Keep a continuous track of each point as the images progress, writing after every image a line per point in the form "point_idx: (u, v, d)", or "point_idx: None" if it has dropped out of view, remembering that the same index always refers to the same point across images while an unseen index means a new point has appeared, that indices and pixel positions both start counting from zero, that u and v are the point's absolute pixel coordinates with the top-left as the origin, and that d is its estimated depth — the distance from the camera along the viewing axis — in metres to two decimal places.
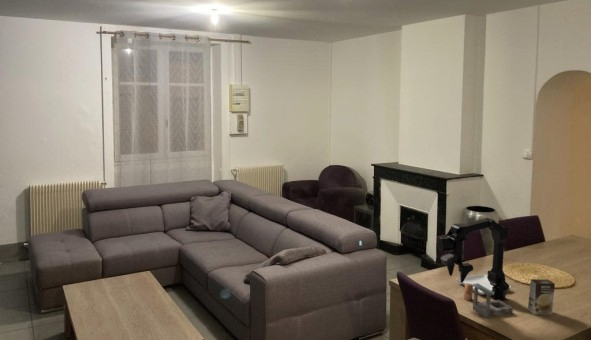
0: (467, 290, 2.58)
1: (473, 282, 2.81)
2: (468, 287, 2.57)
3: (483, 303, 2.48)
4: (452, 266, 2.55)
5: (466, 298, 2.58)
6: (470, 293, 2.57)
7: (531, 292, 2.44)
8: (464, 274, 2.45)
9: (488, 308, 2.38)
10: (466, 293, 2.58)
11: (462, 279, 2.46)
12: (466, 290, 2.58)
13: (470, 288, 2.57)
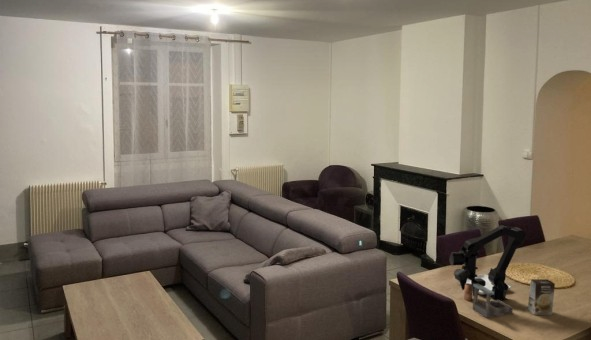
0: (467, 290, 2.57)
1: None
2: (468, 287, 2.57)
3: (483, 303, 2.48)
4: (464, 280, 2.63)
5: (466, 298, 2.58)
6: (470, 293, 2.57)
7: (531, 292, 2.44)
8: None
9: (488, 308, 2.38)
10: (466, 293, 2.58)
11: None
12: (466, 290, 2.58)
13: (470, 288, 2.57)
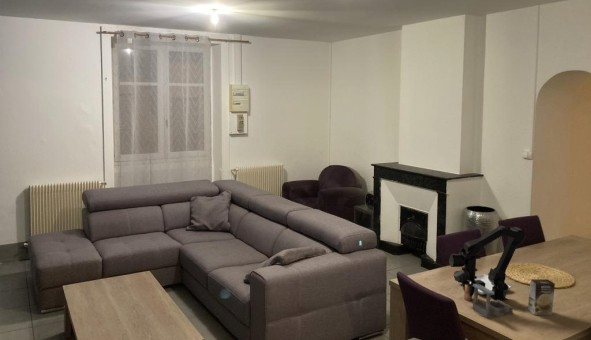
0: (467, 290, 2.58)
1: None
2: (468, 287, 2.57)
3: (483, 303, 2.48)
4: None
5: (466, 298, 2.58)
6: None
7: (531, 292, 2.44)
8: (473, 289, 2.56)
9: (488, 308, 2.38)
10: (466, 293, 2.58)
11: (471, 293, 2.56)
12: (466, 290, 2.58)
13: None
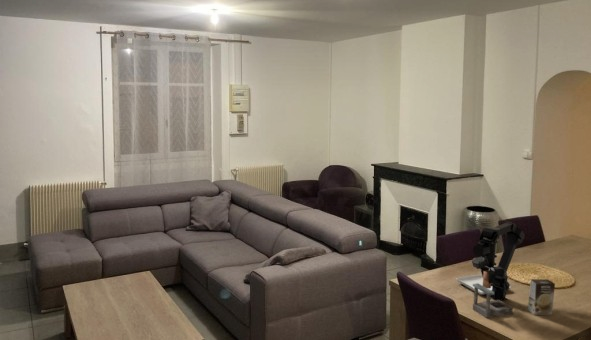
0: (485, 277, 2.50)
1: (473, 282, 2.81)
2: (487, 274, 2.49)
3: (483, 303, 2.48)
4: None
5: (484, 285, 2.51)
6: None
7: (531, 292, 2.44)
8: (492, 276, 2.48)
9: (488, 308, 2.38)
10: (485, 280, 2.51)
11: (490, 281, 2.49)
12: (485, 277, 2.50)
13: None
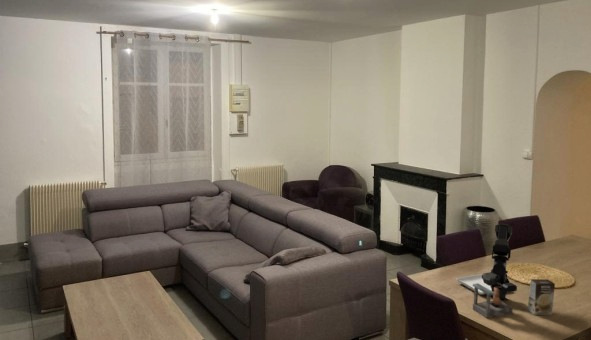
0: (496, 293, 2.43)
1: (473, 282, 2.81)
2: (498, 290, 2.43)
3: (483, 303, 2.48)
4: None
5: (495, 302, 2.44)
6: None
7: (531, 292, 2.44)
8: (503, 292, 2.42)
9: (488, 308, 2.38)
10: (495, 296, 2.44)
11: (501, 297, 2.42)
12: (495, 293, 2.44)
13: None
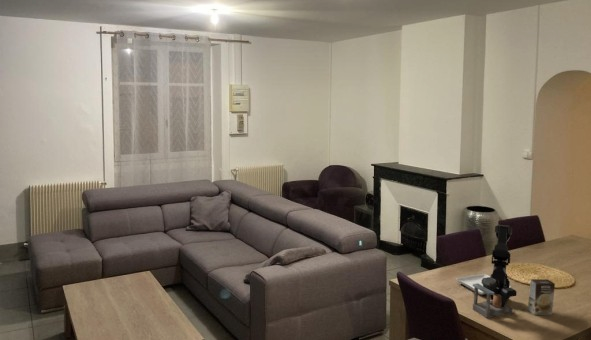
0: (495, 301, 2.44)
1: (473, 282, 2.81)
2: (497, 298, 2.43)
3: (483, 303, 2.48)
4: (494, 290, 2.49)
5: None
6: (499, 304, 2.44)
7: (531, 292, 2.44)
8: (505, 298, 2.41)
9: (488, 308, 2.38)
10: (495, 304, 2.44)
11: (503, 303, 2.41)
12: (495, 301, 2.44)
13: (499, 299, 2.43)
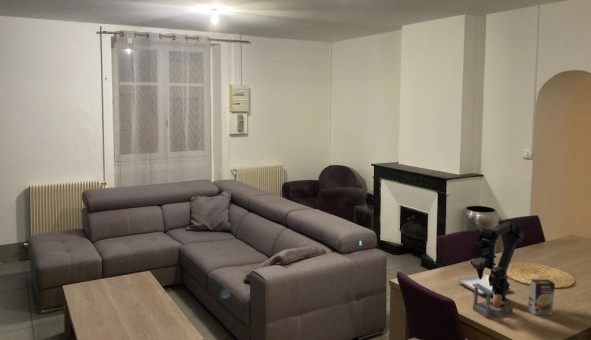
0: (495, 301, 2.44)
1: (473, 282, 2.81)
2: (497, 298, 2.43)
3: (483, 303, 2.48)
4: (482, 270, 2.56)
5: None
6: (499, 304, 2.44)
7: (531, 292, 2.44)
8: (496, 278, 2.46)
9: (488, 308, 2.38)
10: (495, 304, 2.45)
11: (494, 283, 2.46)
12: (495, 301, 2.44)
13: (499, 298, 2.43)
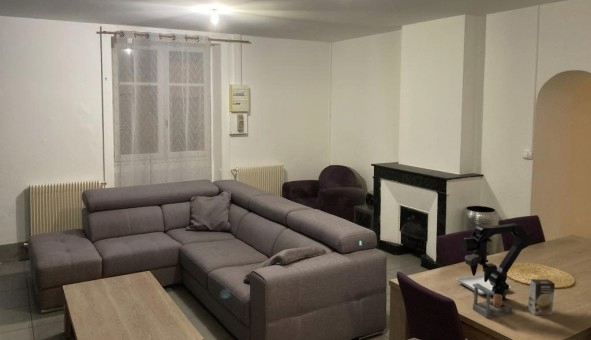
0: (496, 301, 2.44)
1: (473, 282, 2.81)
2: (497, 298, 2.43)
3: (483, 303, 2.48)
4: (475, 266, 2.60)
5: None
6: (499, 304, 2.44)
7: (531, 292, 2.44)
8: (488, 274, 2.50)
9: (488, 308, 2.38)
10: (495, 304, 2.44)
11: (486, 279, 2.51)
12: (495, 301, 2.44)
13: (499, 299, 2.43)
